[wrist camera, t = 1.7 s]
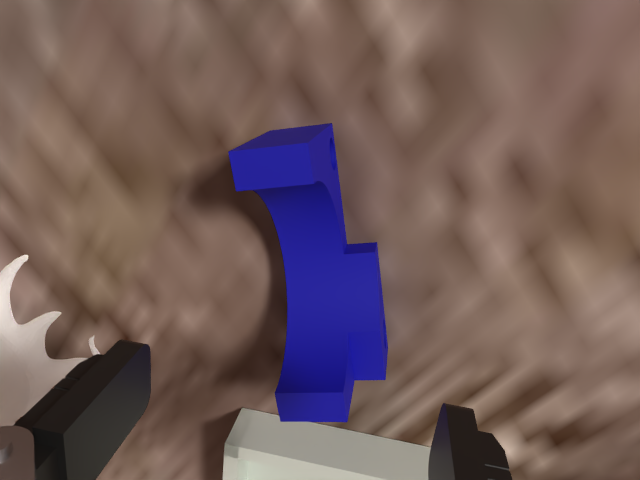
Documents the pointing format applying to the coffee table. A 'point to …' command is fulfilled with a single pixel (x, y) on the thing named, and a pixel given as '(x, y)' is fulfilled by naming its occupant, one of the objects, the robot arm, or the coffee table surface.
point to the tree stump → (26, 355)
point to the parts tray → (315, 452)
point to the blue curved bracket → (317, 273)
